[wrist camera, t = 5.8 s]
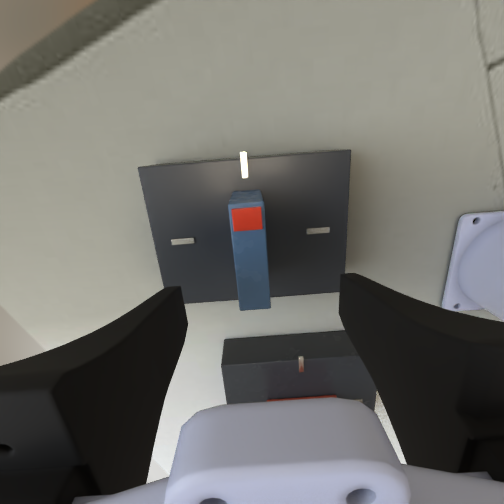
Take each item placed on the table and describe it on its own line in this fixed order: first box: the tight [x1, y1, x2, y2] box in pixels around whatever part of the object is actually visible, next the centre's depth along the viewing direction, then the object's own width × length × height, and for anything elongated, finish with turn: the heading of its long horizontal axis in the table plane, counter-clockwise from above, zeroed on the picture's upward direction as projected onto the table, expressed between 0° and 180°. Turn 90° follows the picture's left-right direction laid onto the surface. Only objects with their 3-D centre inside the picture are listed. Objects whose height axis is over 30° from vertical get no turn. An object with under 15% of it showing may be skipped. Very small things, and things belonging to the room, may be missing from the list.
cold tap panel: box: [138, 150, 351, 304], centre depth 18 cm, size 12×10×3 cm
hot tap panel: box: [221, 331, 377, 411], centre depth 23 cm, size 12×10×3 cm
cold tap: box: [228, 189, 271, 311], centre depth 14 cm, size 6×2×4 cm, turn 5°
